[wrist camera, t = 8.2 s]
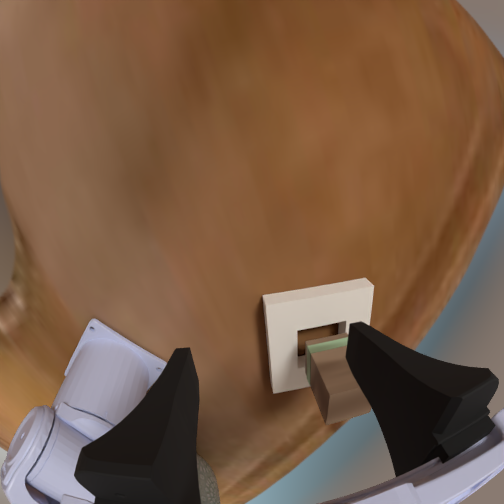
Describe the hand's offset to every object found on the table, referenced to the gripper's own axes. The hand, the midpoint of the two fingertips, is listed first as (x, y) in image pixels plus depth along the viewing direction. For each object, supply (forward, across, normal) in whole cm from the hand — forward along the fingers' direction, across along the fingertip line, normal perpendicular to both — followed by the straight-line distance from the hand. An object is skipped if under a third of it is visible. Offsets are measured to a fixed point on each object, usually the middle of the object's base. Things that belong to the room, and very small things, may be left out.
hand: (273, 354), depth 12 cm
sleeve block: (+10, -6, +8) cm, 14 cm away
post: (+8, -6, +8) cm, 12 cm away
